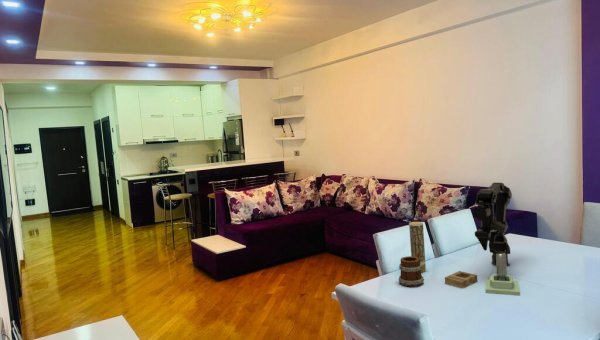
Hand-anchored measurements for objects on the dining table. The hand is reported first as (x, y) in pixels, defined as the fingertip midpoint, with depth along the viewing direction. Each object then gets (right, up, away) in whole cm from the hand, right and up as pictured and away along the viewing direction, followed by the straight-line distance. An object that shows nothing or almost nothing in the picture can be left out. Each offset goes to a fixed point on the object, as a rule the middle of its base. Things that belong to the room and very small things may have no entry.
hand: (488, 248), depth 196 cm
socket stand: (-2, -15, -17) cm, 22 cm away
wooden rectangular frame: (-16, -15, -6) cm, 23 cm away
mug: (-37, -16, -1) cm, 40 cm away
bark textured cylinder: (-30, -15, +14) cm, 36 cm away
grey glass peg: (-2, -13, -17) cm, 21 cm away
